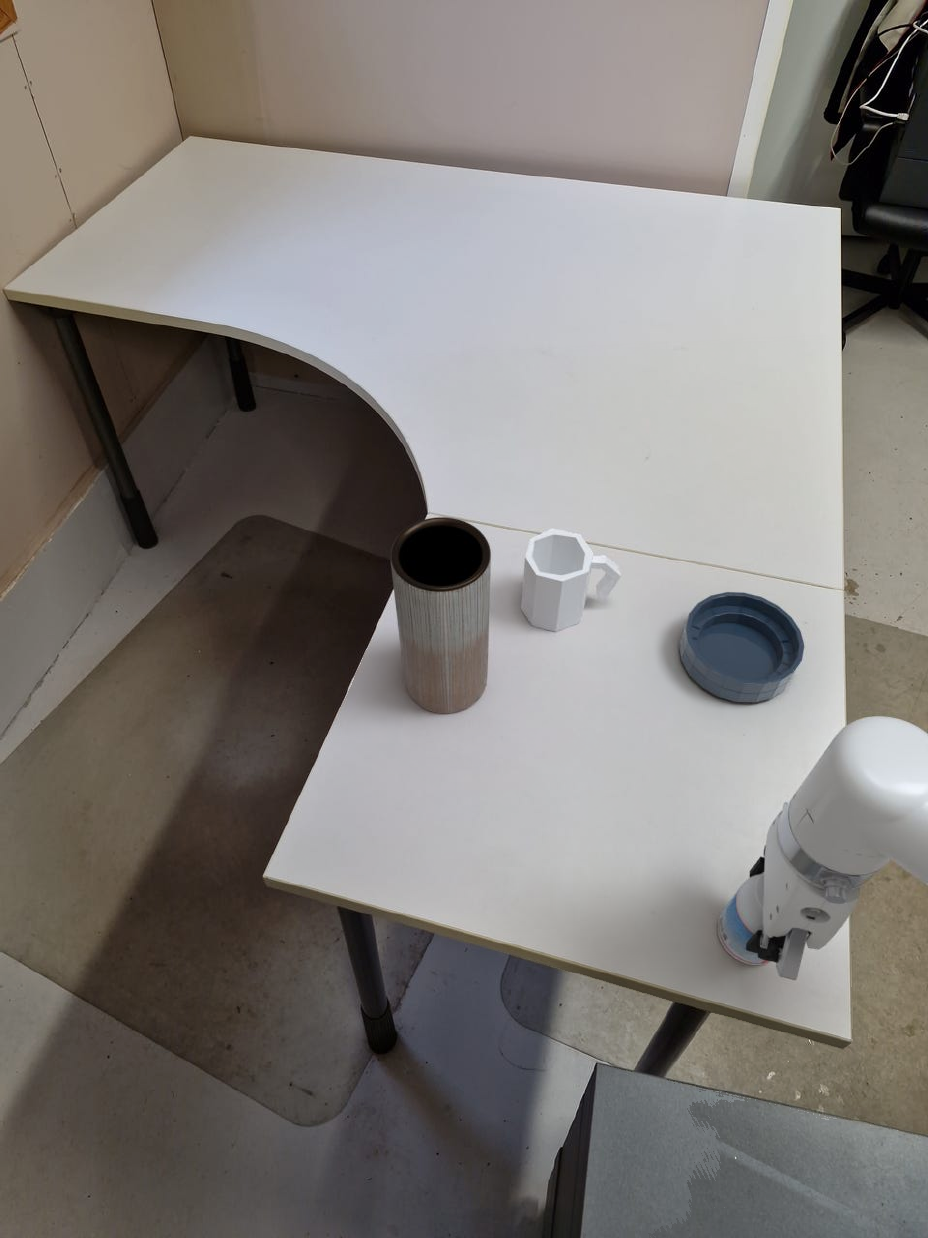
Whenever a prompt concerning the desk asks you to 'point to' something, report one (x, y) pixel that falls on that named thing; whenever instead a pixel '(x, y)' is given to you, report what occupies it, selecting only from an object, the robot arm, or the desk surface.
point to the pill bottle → (743, 920)
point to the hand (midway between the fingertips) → (765, 914)
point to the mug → (561, 579)
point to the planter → (443, 611)
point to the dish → (741, 647)
